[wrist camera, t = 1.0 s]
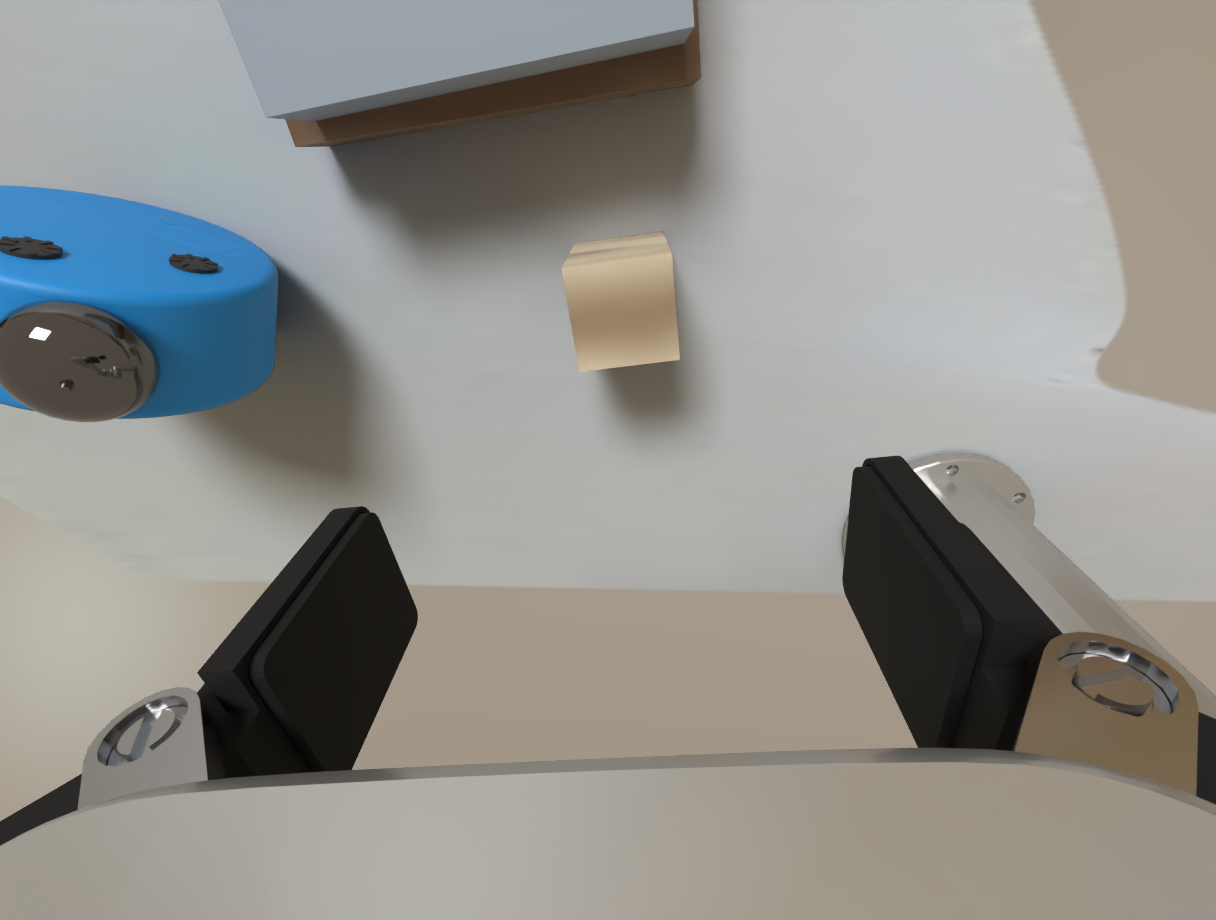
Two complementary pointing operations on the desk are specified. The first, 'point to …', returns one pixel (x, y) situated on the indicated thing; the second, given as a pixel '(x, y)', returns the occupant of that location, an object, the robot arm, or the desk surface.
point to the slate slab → (430, 45)
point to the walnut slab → (514, 96)
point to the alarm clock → (127, 308)
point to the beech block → (622, 301)
